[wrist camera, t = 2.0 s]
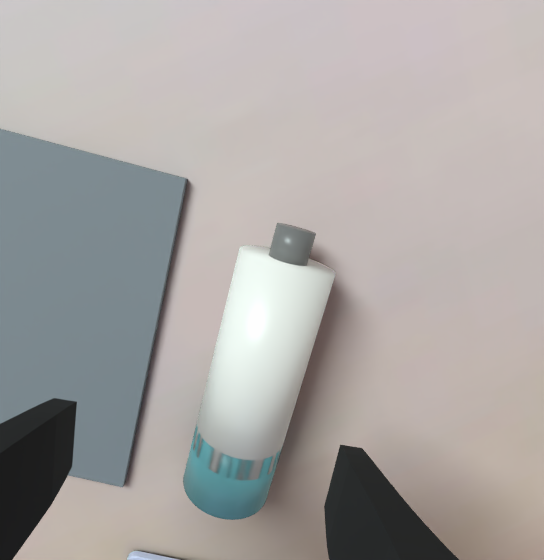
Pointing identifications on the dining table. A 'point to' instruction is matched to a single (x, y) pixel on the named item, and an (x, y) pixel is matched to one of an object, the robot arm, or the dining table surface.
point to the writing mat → (82, 289)
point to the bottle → (256, 373)
